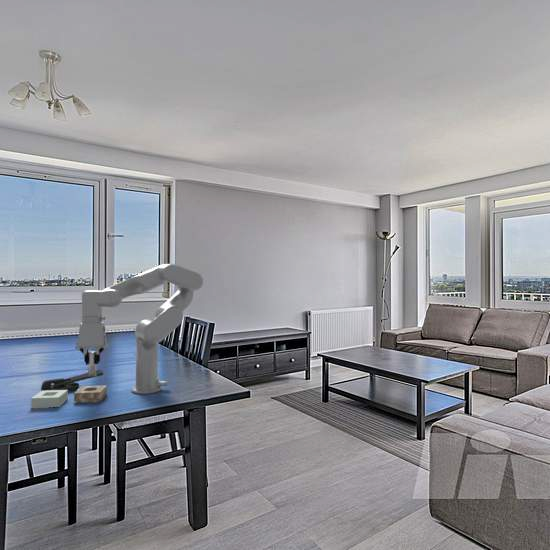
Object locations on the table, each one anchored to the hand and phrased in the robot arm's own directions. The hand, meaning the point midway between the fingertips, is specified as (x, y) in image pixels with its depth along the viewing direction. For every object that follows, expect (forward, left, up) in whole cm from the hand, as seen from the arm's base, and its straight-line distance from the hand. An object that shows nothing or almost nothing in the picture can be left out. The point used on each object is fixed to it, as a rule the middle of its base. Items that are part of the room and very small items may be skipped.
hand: (92, 363), depth 169 cm
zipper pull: (+12, -15, -15) cm, 25 cm away
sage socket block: (+14, +5, -15) cm, 21 cm away
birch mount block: (0, 0, -15) cm, 15 cm away
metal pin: (0, 0, -5) cm, 5 cm away
